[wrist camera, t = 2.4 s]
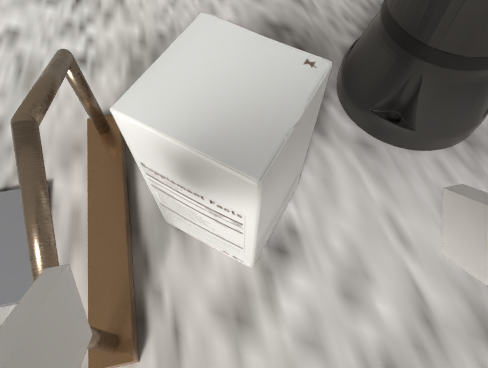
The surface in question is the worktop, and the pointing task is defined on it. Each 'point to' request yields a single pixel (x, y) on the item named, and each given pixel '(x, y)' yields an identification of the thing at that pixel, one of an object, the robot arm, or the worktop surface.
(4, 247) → the mat
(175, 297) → the worktop surface
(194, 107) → the supplement box
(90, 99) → the cabinet door handle
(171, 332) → the worktop surface
